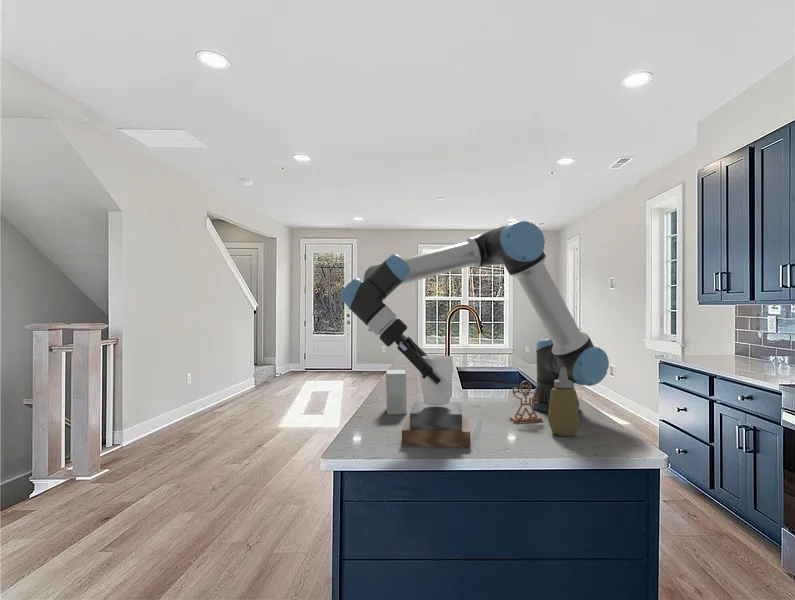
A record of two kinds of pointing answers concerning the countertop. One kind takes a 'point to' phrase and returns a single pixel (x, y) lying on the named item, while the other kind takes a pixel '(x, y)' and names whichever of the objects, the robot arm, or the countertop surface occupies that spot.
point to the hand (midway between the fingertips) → (448, 387)
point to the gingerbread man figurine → (527, 419)
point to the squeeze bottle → (563, 406)
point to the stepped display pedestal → (436, 426)
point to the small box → (396, 391)
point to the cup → (445, 370)
